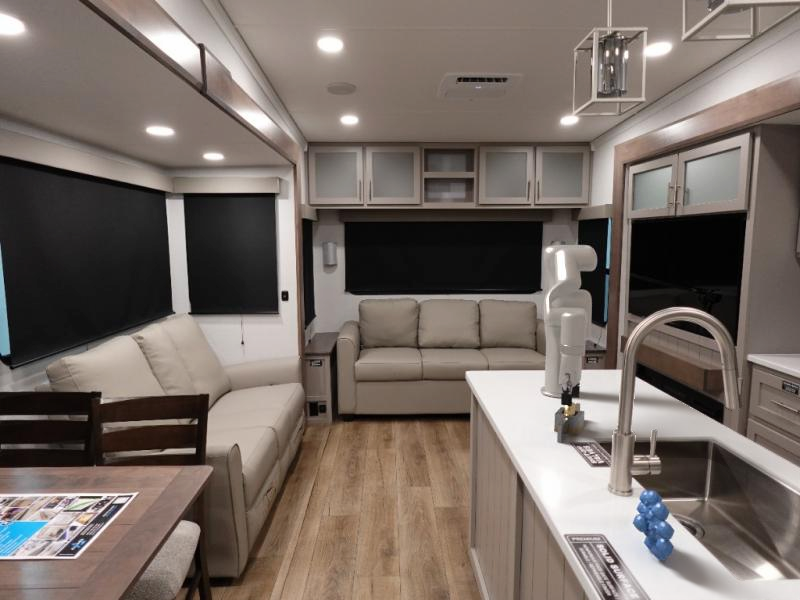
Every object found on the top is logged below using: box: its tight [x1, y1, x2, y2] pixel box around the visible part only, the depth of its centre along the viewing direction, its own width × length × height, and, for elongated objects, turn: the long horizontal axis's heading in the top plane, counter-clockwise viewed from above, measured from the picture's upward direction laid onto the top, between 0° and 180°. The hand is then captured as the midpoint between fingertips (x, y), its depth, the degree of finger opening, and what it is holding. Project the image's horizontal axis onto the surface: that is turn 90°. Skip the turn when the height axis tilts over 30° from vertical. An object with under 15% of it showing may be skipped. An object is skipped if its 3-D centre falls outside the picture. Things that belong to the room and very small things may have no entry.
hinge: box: [553, 402, 585, 444], centre depth 155 cm, size 24×8×6 cm, turn 146°
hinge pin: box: [564, 401, 576, 416], centre depth 155 cm, size 3×3×9 cm
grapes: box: [632, 489, 675, 562], centre depth 94 cm, size 12×7×12 cm, turn 177°
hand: (570, 401), depth 154 cm, fingers open, 9 cm apart
